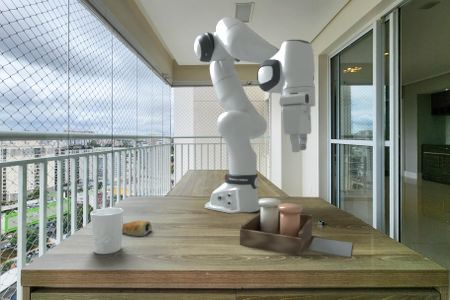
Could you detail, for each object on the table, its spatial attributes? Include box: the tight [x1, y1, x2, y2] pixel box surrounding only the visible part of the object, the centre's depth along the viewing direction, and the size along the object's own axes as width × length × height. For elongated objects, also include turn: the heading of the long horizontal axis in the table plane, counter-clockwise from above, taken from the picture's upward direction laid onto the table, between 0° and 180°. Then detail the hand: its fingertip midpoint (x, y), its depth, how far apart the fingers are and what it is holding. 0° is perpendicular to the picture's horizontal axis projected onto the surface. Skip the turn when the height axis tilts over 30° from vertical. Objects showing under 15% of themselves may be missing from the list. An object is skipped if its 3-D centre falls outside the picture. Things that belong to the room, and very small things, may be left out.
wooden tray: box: [239, 208, 313, 256], centre depth 83 cm, size 16×16×7 cm
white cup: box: [90, 207, 124, 255], centre depth 77 cm, size 8×8×10 cm
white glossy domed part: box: [258, 197, 282, 234], centre depth 87 cm, size 6×6×10 cm
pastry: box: [122, 220, 153, 237], centre depth 91 cm, size 9×7×4 cm
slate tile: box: [307, 237, 354, 259], centre depth 78 cm, size 10×10×1 cm
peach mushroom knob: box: [278, 202, 303, 237], centre depth 81 cm, size 6×6×10 cm
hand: (299, 151), depth 81 cm, fingers open, 8 cm apart
